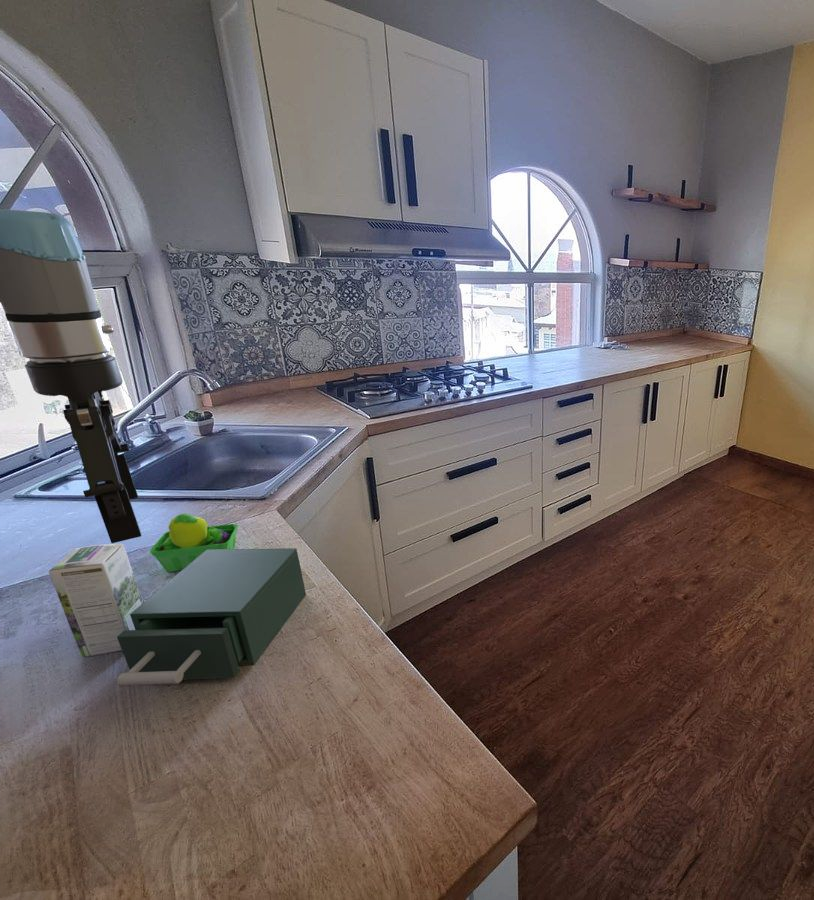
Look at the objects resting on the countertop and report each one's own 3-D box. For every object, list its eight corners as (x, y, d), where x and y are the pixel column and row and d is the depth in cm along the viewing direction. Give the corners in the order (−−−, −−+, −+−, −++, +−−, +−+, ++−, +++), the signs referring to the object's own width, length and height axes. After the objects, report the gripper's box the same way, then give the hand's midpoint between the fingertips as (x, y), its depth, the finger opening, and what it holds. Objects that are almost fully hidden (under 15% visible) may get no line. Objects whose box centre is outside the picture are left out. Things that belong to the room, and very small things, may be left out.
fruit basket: (244, 545, 97) (231, 493, 93) (230, 570, 89) (215, 515, 85) (173, 554, 93) (156, 500, 89) (152, 582, 86) (132, 524, 82)
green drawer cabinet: (254, 664, 69) (240, 611, 66) (149, 668, 68) (129, 614, 65) (306, 594, 84) (296, 548, 81) (220, 596, 83) (206, 549, 79)
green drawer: (211, 708, 62) (196, 662, 59) (101, 713, 60) (81, 666, 58) (288, 607, 80) (280, 568, 77) (205, 609, 78) (194, 569, 76)
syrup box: (103, 631, 74) (69, 547, 69) (152, 623, 76) (123, 540, 71) (81, 658, 69) (44, 570, 64) (135, 649, 71) (102, 562, 66)
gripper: (113, 371, 52) (169, 547, 59) (114, 340, 69) (157, 479, 77) (5, 380, 47) (81, 570, 55) (35, 344, 64) (89, 492, 72)
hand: (126, 518), depth 66 cm, fingers open, 13 cm apart
